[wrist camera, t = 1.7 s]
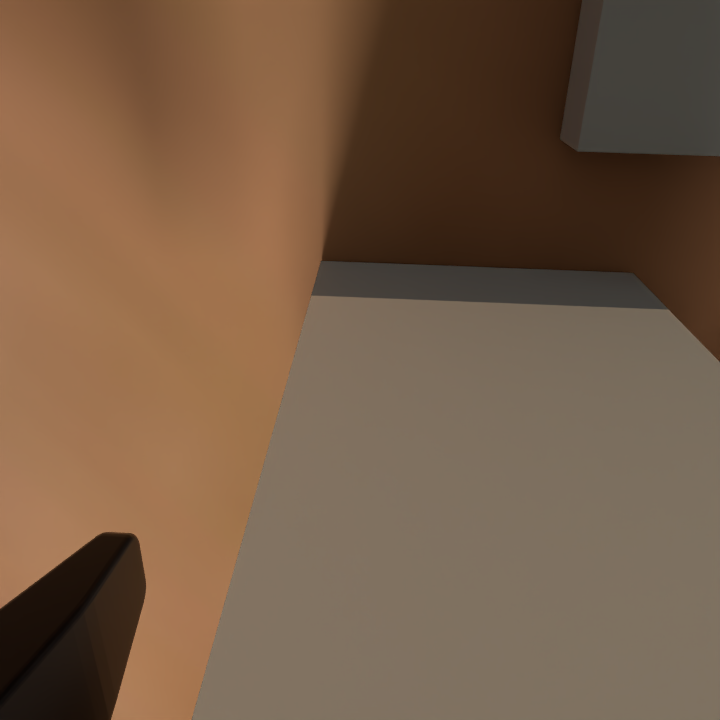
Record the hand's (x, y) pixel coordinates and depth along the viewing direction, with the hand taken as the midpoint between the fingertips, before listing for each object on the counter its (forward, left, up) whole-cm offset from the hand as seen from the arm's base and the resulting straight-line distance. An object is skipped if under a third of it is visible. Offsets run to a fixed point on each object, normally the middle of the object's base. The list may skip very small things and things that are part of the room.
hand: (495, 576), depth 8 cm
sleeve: (0, 0, -4) cm, 4 cm away
